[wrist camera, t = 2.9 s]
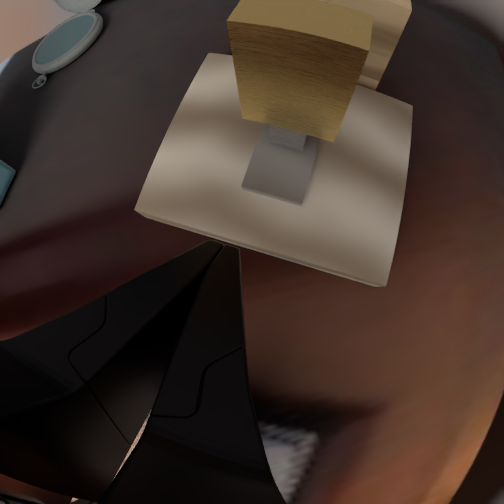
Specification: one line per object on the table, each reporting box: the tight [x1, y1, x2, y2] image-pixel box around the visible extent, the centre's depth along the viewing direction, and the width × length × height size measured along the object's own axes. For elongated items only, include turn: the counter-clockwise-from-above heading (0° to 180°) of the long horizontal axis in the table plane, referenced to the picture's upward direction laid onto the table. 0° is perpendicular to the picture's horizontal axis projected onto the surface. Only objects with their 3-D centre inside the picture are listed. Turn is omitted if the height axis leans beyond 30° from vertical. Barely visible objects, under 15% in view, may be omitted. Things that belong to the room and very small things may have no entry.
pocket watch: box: [32, 0, 103, 89], centre depth 18 cm, size 10×11×15 cm
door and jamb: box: [134, 0, 413, 287], centre depth 15 cm, size 19×16×10 cm
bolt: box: [227, 0, 373, 151], centre depth 13 cm, size 7×5×9 cm
